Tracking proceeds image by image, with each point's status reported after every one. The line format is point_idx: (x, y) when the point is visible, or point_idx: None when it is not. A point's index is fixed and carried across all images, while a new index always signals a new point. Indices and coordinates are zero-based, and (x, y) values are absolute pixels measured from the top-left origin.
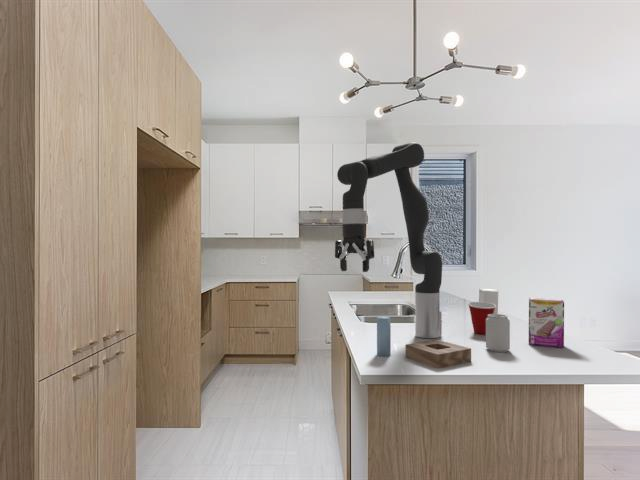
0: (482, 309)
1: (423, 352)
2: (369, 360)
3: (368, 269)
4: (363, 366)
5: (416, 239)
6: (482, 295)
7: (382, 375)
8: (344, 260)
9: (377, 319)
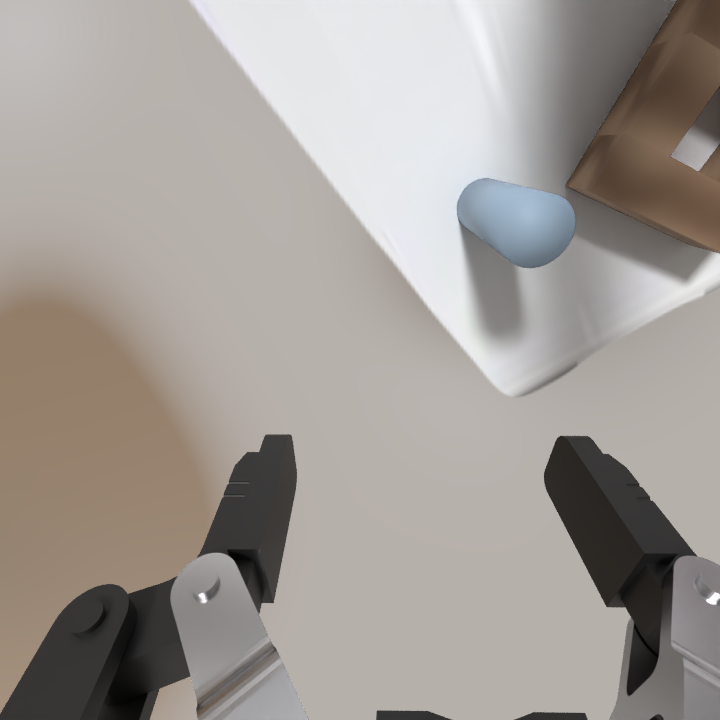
0: None
1: (664, 227)
2: (467, 298)
3: (611, 464)
4: (477, 354)
5: None
6: None
7: (547, 383)
8: (269, 578)
9: (508, 259)
